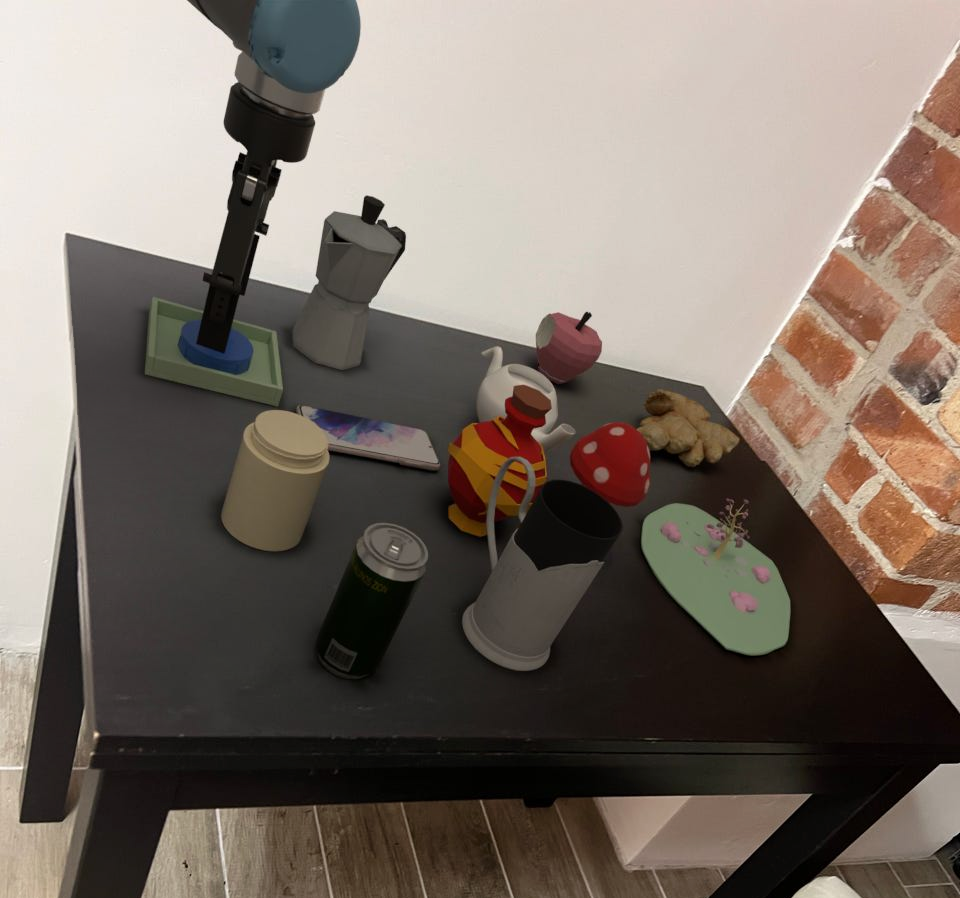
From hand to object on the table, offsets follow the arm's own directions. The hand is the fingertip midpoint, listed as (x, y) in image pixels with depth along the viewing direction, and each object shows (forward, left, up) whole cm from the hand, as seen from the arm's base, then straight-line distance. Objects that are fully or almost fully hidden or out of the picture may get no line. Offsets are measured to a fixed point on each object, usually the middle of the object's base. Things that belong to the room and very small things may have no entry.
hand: (221, 317), depth 92 cm
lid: (0, 0, -3) cm, 3 cm away
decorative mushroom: (+37, -20, -5) cm, 42 cm away
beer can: (+10, -41, -5) cm, 43 cm away
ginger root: (+63, +9, -5) cm, 64 cm away
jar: (+4, -26, -5) cm, 27 cm away
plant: (+58, -21, -5) cm, 62 cm away
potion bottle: (+26, -19, -5) cm, 33 cm away
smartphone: (+16, -9, -5) cm, 19 cm away
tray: (0, 0, -5) cm, 5 cm away
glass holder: (+25, -33, -5) cm, 42 cm away
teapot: (+33, -3, -5) cm, 34 cm away
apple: (+47, +19, -5) cm, 51 cm away
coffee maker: (+14, +10, -5) cm, 18 cm away
